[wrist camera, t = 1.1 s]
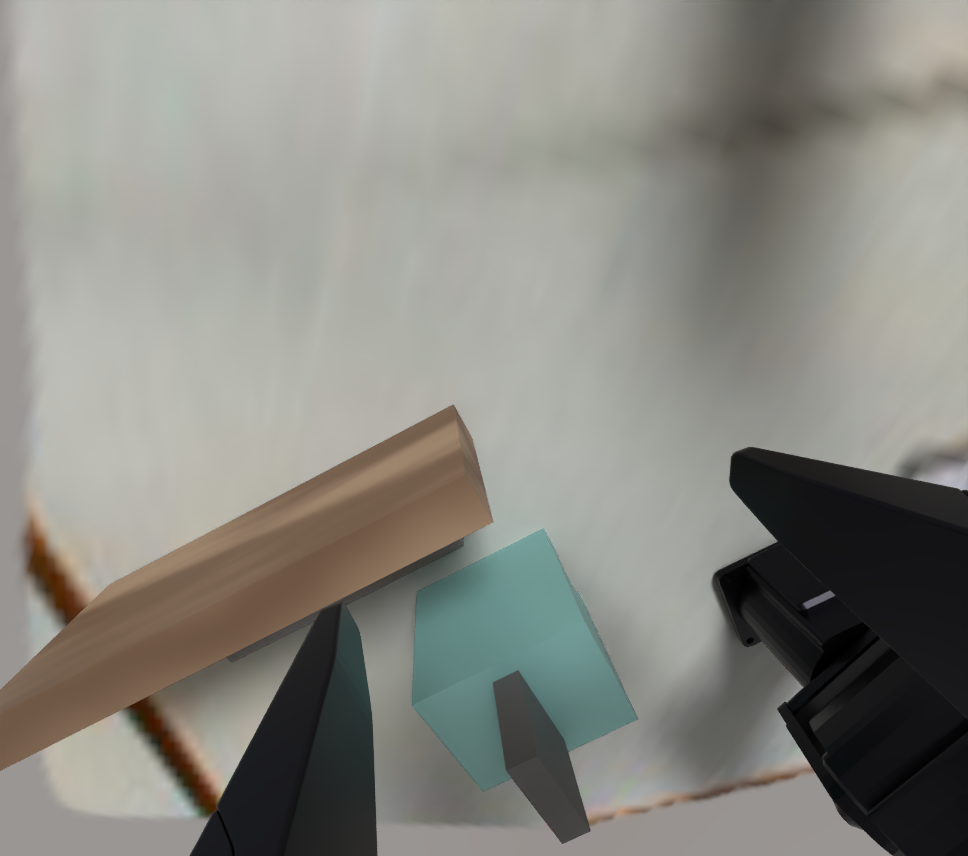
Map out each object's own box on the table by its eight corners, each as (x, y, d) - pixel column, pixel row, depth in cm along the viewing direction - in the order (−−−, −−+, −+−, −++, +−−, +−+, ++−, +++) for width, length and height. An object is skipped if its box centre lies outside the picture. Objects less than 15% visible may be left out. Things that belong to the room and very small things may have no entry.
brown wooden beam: (511, 508, 24) (548, 616, 16) (195, 667, 25) (93, 838, 17) (453, 404, 22) (465, 474, 14) (108, 585, 23) (-52, 739, 15)
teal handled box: (587, 609, 27) (678, 805, 17) (470, 666, 27) (492, 889, 17) (543, 528, 25) (618, 699, 15) (416, 591, 25) (407, 798, 15)
